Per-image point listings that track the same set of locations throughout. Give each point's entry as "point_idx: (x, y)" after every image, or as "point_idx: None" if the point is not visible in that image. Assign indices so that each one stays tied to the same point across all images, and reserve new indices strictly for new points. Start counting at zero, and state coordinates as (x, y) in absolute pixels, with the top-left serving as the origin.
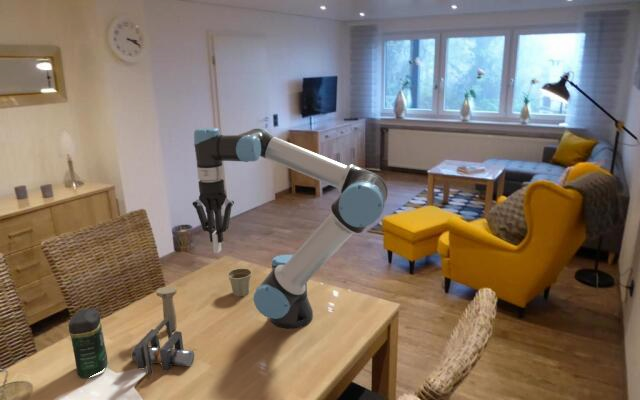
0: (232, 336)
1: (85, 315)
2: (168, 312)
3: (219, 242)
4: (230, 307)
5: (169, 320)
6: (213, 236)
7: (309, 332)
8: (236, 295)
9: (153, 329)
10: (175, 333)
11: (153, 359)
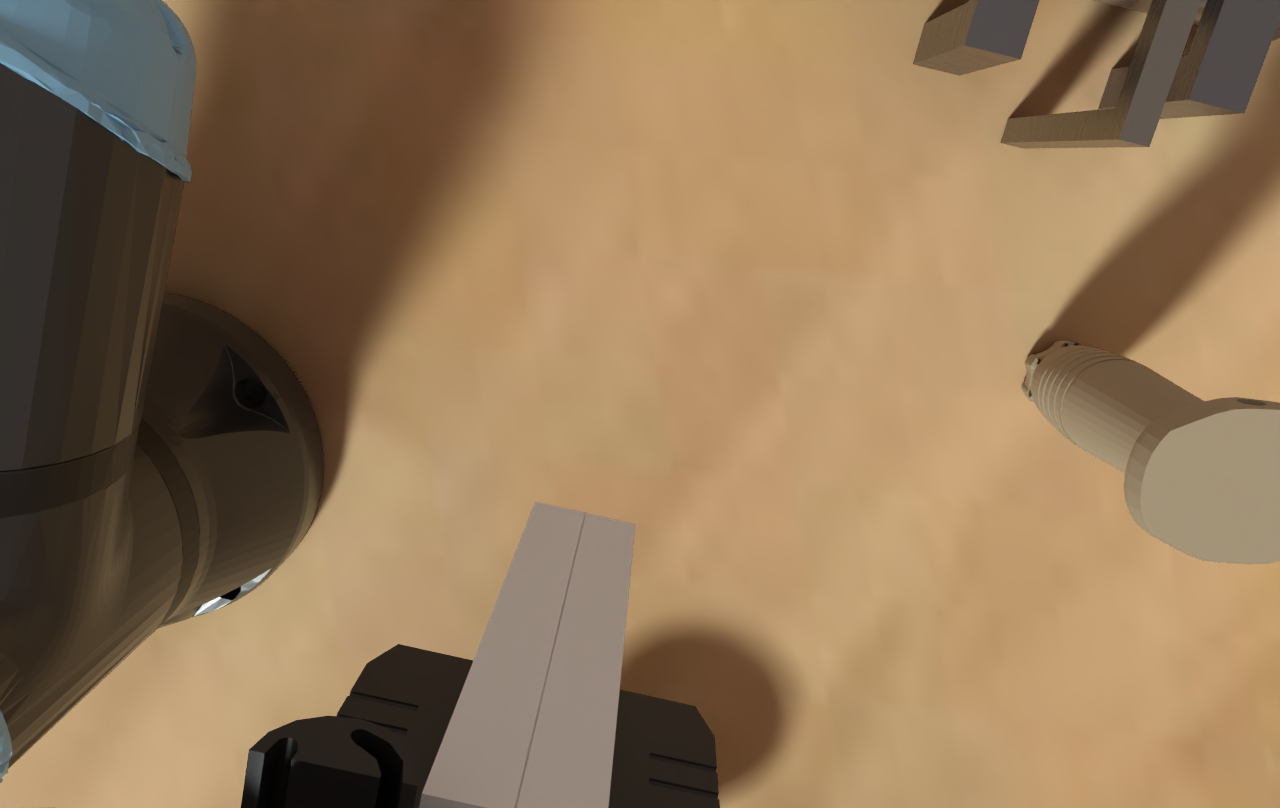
0: (574, 238)
1: None
2: (1132, 372)
3: (446, 658)
4: (648, 633)
5: (1107, 123)
6: (570, 756)
7: None
8: None
9: (1226, 109)
10: (1014, 21)
11: None
